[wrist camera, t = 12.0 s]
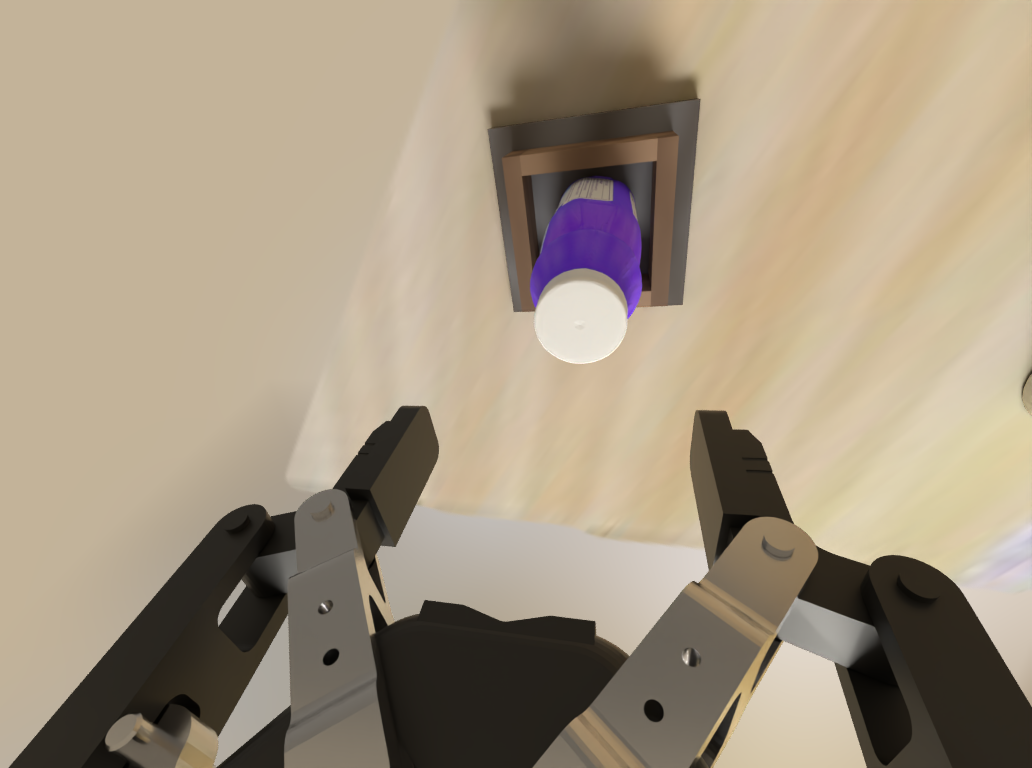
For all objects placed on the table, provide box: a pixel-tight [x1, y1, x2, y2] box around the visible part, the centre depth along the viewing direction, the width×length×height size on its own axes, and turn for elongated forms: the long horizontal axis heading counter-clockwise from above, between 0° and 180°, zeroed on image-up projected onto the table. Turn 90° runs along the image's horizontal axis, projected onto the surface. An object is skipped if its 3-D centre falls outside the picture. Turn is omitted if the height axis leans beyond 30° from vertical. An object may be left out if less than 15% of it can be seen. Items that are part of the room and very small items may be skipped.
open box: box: [488, 99, 700, 312], centre depth 32 cm, size 14×14×5 cm
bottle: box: [530, 176, 642, 364], centre depth 26 cm, size 7×6×17 cm
